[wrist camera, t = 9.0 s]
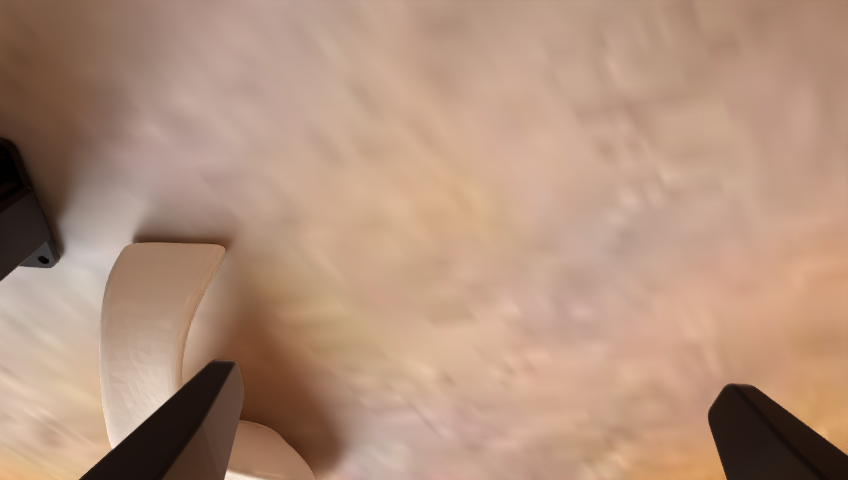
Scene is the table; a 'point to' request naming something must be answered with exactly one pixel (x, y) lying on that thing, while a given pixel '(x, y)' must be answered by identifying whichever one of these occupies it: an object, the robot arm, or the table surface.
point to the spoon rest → (170, 350)
